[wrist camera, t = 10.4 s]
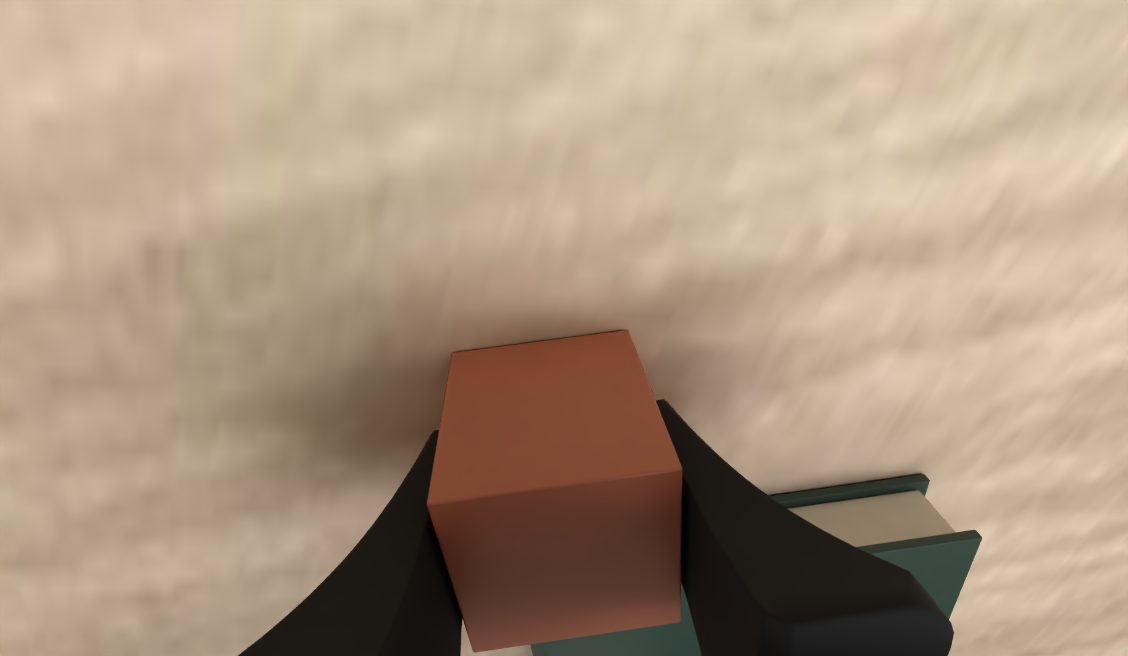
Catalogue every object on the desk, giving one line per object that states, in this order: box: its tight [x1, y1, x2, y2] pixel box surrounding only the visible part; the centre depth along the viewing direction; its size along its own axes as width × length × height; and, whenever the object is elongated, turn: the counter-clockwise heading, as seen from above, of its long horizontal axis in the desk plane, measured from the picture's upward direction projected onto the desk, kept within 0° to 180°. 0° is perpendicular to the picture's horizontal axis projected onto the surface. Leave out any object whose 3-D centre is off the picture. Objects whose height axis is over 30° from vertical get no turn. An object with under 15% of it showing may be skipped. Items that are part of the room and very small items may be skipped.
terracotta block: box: [427, 330, 682, 652], centre depth 13 cm, size 4×4×5 cm
